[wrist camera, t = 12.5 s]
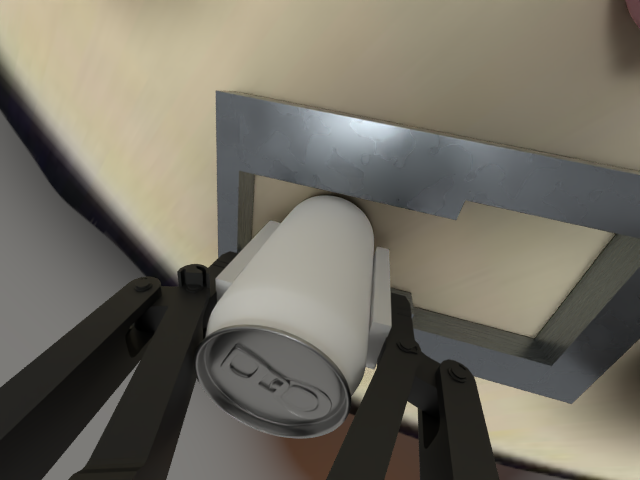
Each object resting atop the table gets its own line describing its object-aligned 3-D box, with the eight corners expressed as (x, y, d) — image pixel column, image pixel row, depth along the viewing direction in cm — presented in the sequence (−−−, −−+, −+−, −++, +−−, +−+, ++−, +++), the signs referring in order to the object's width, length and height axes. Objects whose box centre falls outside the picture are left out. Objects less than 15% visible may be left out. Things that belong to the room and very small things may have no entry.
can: (339, 288, 22) (299, 464, 11) (270, 242, 21) (160, 383, 11) (394, 229, 19) (408, 397, 8) (315, 173, 18) (222, 278, 8)
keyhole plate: (722, 187, 15) (780, 203, 13) (553, 374, 23) (571, 403, 20) (236, 91, 18) (215, 90, 16) (233, 286, 25) (219, 304, 23)
